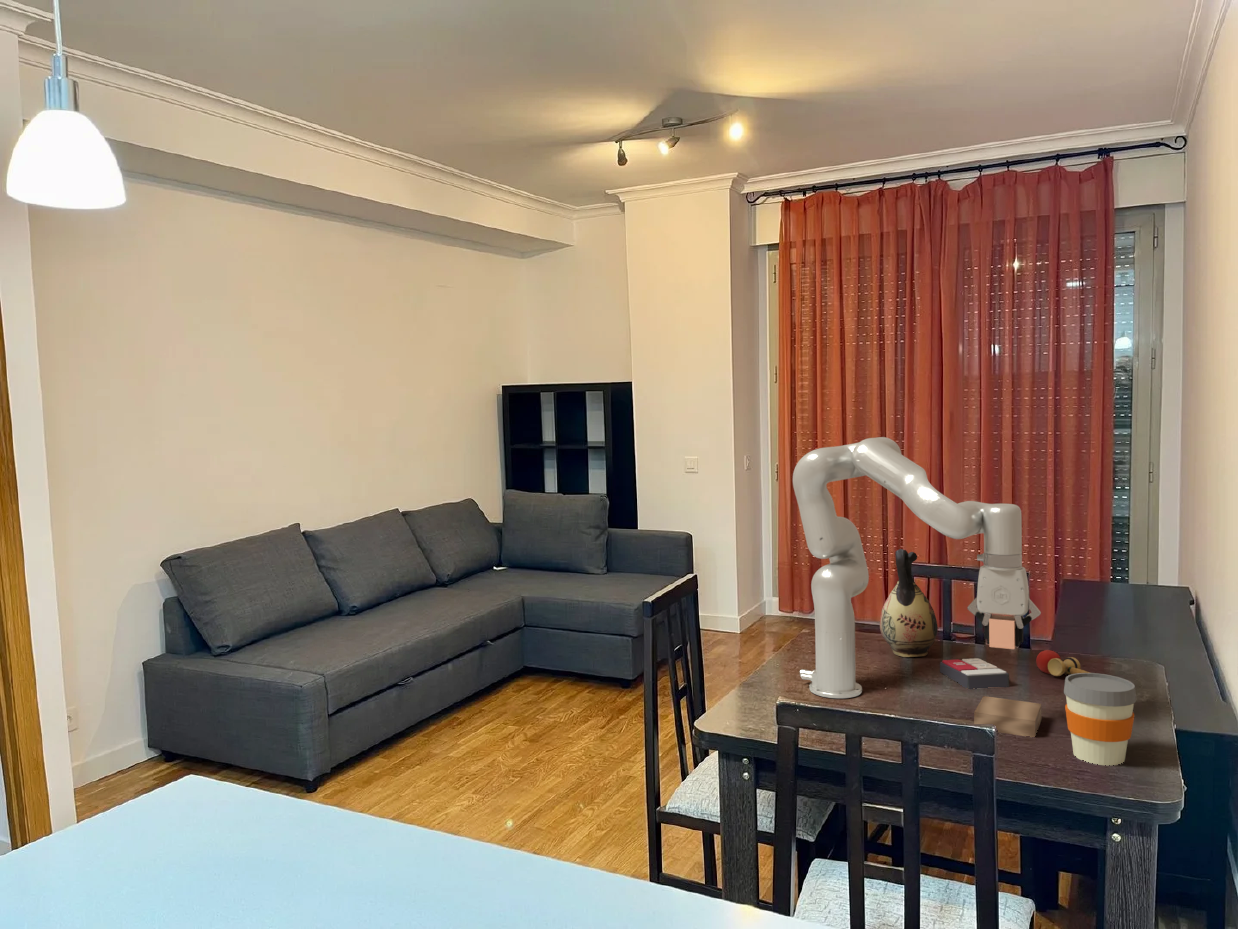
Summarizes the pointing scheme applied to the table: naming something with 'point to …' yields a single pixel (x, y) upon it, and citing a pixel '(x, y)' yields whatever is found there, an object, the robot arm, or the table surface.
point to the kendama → (1057, 664)
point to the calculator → (974, 673)
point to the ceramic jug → (908, 613)
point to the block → (1002, 631)
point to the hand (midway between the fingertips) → (1003, 643)
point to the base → (1009, 715)
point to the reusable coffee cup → (1099, 716)
